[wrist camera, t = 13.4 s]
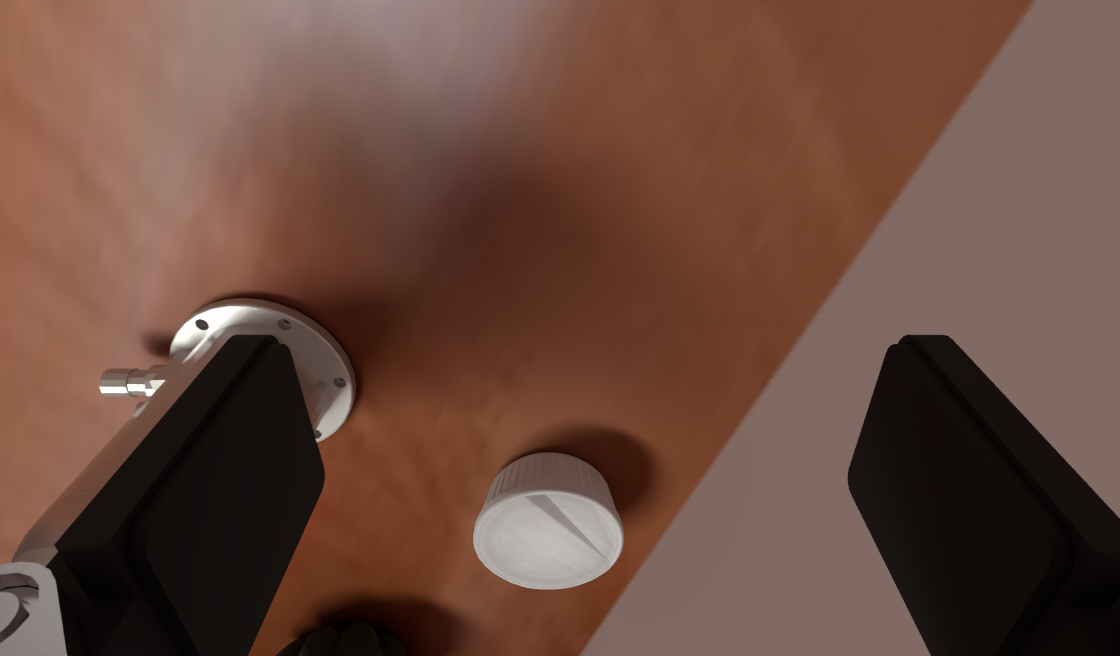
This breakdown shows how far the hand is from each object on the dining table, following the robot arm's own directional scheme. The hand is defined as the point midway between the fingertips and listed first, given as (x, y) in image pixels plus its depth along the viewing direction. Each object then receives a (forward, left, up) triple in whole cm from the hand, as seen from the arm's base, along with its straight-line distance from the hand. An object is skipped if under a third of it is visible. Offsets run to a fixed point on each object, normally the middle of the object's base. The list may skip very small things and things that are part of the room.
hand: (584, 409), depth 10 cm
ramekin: (-2, -32, -29) cm, 43 cm away
